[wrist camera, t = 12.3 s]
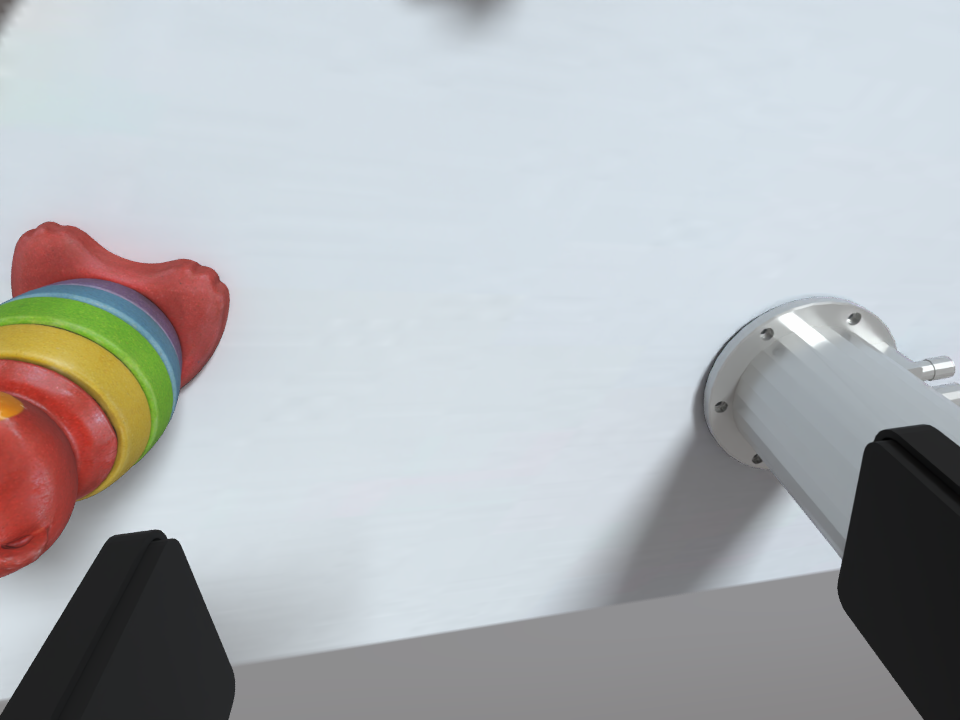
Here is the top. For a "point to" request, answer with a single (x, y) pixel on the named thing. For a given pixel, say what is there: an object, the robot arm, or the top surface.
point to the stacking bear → (89, 373)
